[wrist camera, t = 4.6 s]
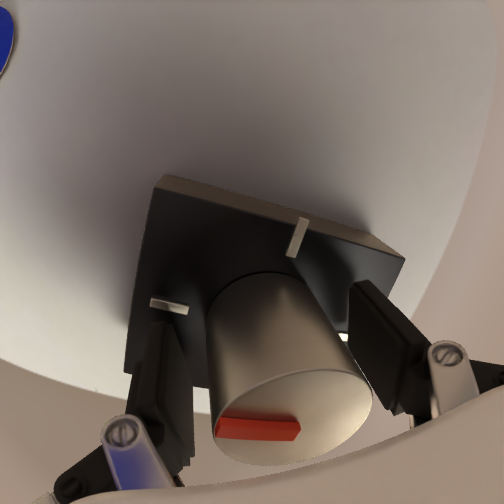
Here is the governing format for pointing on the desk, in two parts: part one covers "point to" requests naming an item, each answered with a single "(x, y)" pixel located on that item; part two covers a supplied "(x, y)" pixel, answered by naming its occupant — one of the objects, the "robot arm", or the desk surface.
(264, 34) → the desk surface
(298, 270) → the timer panel
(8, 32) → the beverage can
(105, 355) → the desk surface
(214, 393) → the dial
